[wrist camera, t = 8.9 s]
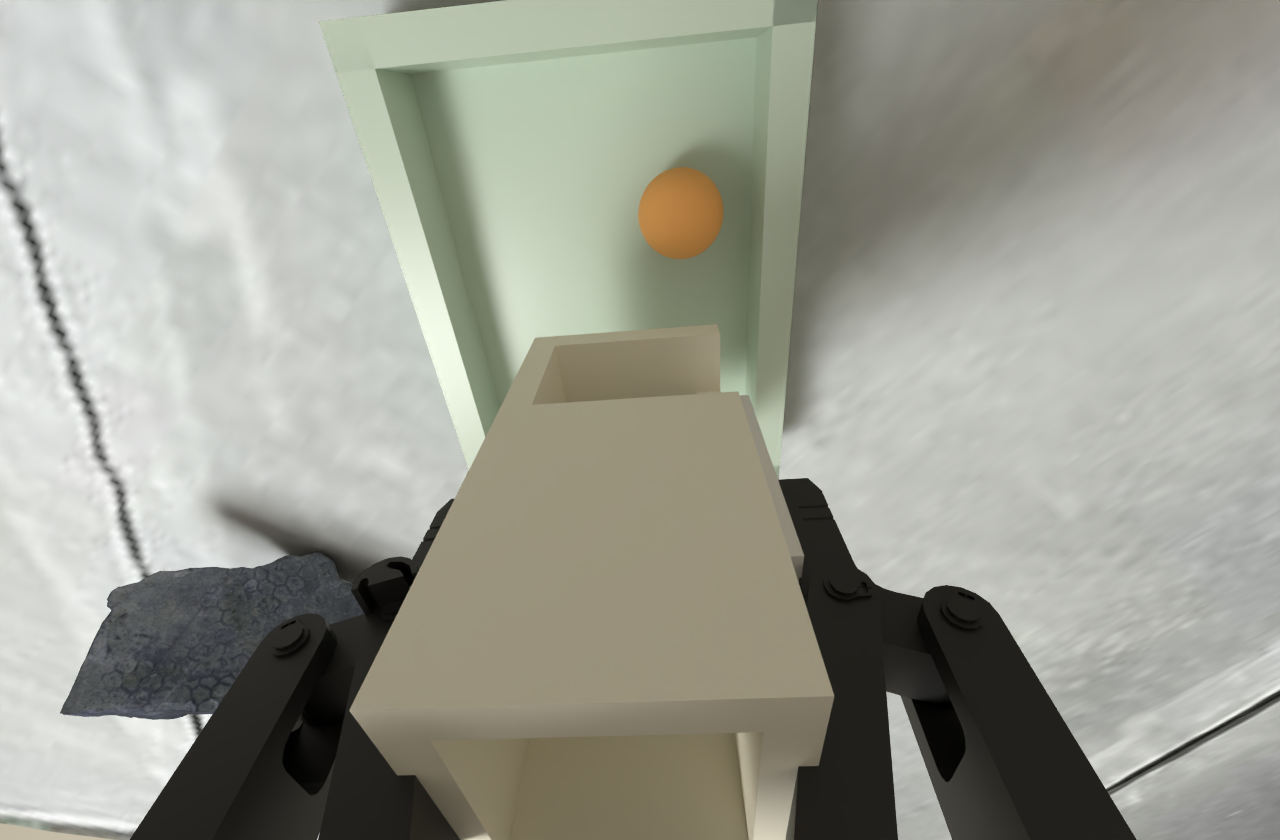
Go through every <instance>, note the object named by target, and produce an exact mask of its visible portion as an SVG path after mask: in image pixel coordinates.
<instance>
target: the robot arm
mask: <svg viewBox="0 0 1280 840" xmlns="http://www.w3.org/2000/svg"><path fill="white" fill-rule="evenodd" d="M740 398H741V401H742V405H743V408H744V411H745V414H746V417H747V420H748V424H749V427H750V430H751V433H752V436H753V439H754V443H755V446H756V449H757V452H758V455H759V459H760V462H761V465H762V468H763V471H764V474H765V478H766V481H767V484H768V487H769V490H770V493H771V497H772V500H773V503H774V506H775V509H776V513H777V516H778V519H779V522H780V525H781V528H782V532H783V535H784V538H785V541H786V544H787V547H788V551H789V554H790V557H791V560H792V563H793V566H794V570H795V573H796V576H797V579H798V582H799V586H800V589H801V592H802V595H803V598H804V601H805V605H806V608H807V611H808V614H809V617H810V620H811V624H812V627H813V630H814V633H815V636H816V640H817V643H818V646H819V649H820V652H821V655H822V659H823V662H824V665H825V668H826V671H827V674H828V678H829V681H830V684H831V687H832V690H833V693H834V700H833V704H832V709H831V713H830V717H829V722H828V726H827V731H826V735H825V740H824V744H823V748H822V753H821V757H820V762H819V766H798V771H797V777H796V782H795V788H794V794H793V799H792V805H791V810H790V816H789V822H788V827H787V833H786V840H898V834H897V822H896V809H895V797H894V784H893V772H892V759H891V747H890V734H889V722H888V709H887V697H886V691H887V692H891V693H894V694H898V695H901V698H902V701H903V704H904V706H905V709H906V712H907V715H908V717H909V720H910V723H911V726H912V729H913V731H914V734H915V737H916V740H917V743H918V745H919V748H920V751H921V754H922V756H923V759H924V762H925V765H926V768H927V770H928V773H929V776H930V779H931V782H932V784H933V787H934V790H935V793H936V795H937V798H938V801H939V804H940V807H941V809H942V812H943V815H944V818H945V821H946V823H947V826H948V829H949V832H950V834H951V837H952V840H1136V838H1135V836H1134V835H1133V833H1132V832H1131V830H1130V828H1129V827H1128V825H1127V823H1126V822H1125V820H1124V818H1123V817H1122V815H1121V813H1120V812H1119V810H1118V809H1117V807H1116V805H1115V804H1114V802H1113V800H1112V799H1111V797H1110V795H1109V794H1108V792H1107V791H1106V789H1105V787H1104V786H1103V784H1102V782H1101V781H1100V779H1099V777H1098V776H1097V774H1096V772H1095V771H1094V769H1093V768H1092V766H1091V764H1090V763H1089V761H1088V759H1087V758H1086V756H1085V754H1084V753H1083V751H1082V750H1081V748H1080V746H1079V745H1078V743H1077V741H1076V740H1075V738H1074V736H1073V735H1072V733H1071V731H1070V730H1069V728H1068V727H1067V725H1066V723H1065V722H1064V720H1063V718H1062V717H1061V715H1060V713H1059V712H1058V710H1057V709H1056V707H1055V705H1054V704H1053V702H1052V700H1051V699H1050V697H1049V695H1048V694H1047V692H1046V690H1045V689H1044V687H1043V686H1042V684H1041V682H1040V681H1039V679H1038V677H1037V676H1036V674H1035V672H1034V671H1033V669H1032V668H1031V666H1030V664H1029V663H1028V661H1027V659H1026V658H1025V656H1024V654H1023V653H1022V651H1021V649H1020V648H1019V646H1018V645H1017V643H1016V641H1015V640H1014V638H1013V636H1012V635H1011V633H1010V631H1009V630H1008V628H1007V627H1006V625H1005V623H1004V622H1003V620H1002V618H1001V617H1000V615H999V614H998V612H997V611H996V610H995V609H994V608H993V607H992V605H991V604H990V603H989V602H987V601H986V600H985V599H983V598H982V597H980V596H979V595H977V594H976V593H973V592H971V591H969V590H966V589H964V588H961V587H955V586H948V585H945V586H938V587H934V588H932V589H931V590H929V591H928V592H926V594H925V596H924V598H920V597H915V596H911V595H906V594H901V593H897V592H893V591H890V590H887V589H884V588H882V587H880V586H878V585H876V584H874V582H873V581H872V580H871V579H870V578H869V577H868V575H867V574H865V573H864V572H862V571H860V570H859V569H857V567H856V566H855V564H854V562H853V560H852V557H851V555H850V553H849V551H848V549H847V546H846V544H845V542H844V540H843V537H842V535H841V533H840V531H839V529H838V526H837V524H836V522H835V520H834V519H833V515H832V513H831V511H830V509H829V508H828V504H827V502H826V500H825V497H824V495H823V493H822V491H821V490H820V489H819V488H818V487H817V486H816V485H815V484H814V483H813V482H811V481H810V480H809V479H808V478H802V479H784V480H778V479H777V476H776V473H775V470H774V467H773V464H772V461H771V458H770V455H769V453H768V450H767V447H766V444H765V441H764V438H763V435H762V432H761V429H760V426H759V424H758V421H757V418H756V415H755V412H754V409H753V406H752V403H751V400H750V398H749V395H740ZM453 501H454V499H451V500H450V501H449V502H448V503H446V504H445V505H444V506H443V507H442V508H441V509H440V510H439V511H438V512H437V514H436V516H435V517H434V519H433V521H432V523H431V525H430V530H428V531H427V533H426V535H425V536H424V538H423V542H421V544H420V546H419V548H418V550H417V552H416V554H415V555H414V557H413V559H412V560H411V559H410V558H405V557H394V558H388V559H385V560H383V561H380V562H378V563H376V564H374V565H373V566H371V567H369V568H368V569H366V570H365V571H364V572H363V573H362V574H361V575H360V576H359V577H358V578H357V579H356V580H355V582H354V584H353V586H352V588H351V592H352V594H353V595H354V597H355V599H356V600H357V602H358V604H359V605H360V607H361V609H362V610H363V612H364V614H362V615H359V616H356V617H353V618H349V619H346V620H343V621H340V622H336V623H333V624H330V625H329V624H328V623H327V621H326V620H325V619H324V618H323V617H322V616H320V615H319V614H312V613H307V614H303V615H298V616H295V617H293V618H291V619H289V620H287V621H285V622H283V623H281V624H280V625H278V626H277V627H276V628H274V629H273V630H272V631H271V632H269V633H268V634H267V636H266V637H265V638H264V639H263V640H262V641H261V643H260V644H259V645H258V647H257V648H256V650H255V651H254V653H253V654H252V656H251V657H250V659H249V660H248V662H247V663H246V665H245V666H244V668H243V669H242V671H241V672H240V674H239V676H238V677H237V679H236V680H235V682H234V683H233V685H232V686H231V688H230V689H229V691H228V692H227V694H226V695H225V697H224V698H223V700H222V701H221V703H220V704H219V706H218V707H217V709H216V710H215V712H214V713H213V715H212V716H211V718H210V719H209V721H208V722H207V724H206V725H205V727H204V728H203V730H202V731H201V733H200V734H199V736H198V737H197V739H196V740H195V742H194V743H193V745H192V746H191V748H190V749H189V751H188V753H187V754H186V756H185V757H184V759H183V760H182V762H181V763H180V765H179V766H178V768H177V769H176V771H175V772H174V774H173V775H172V777H171V778H170V780H169V781H168V783H167V784H166V786H165V787H164V789H163V790H162V792H161V793H160V795H159V796H158V798H157V799H156V801H155V802H154V804H153V805H152V807H151V808H150V810H149V811H148V813H147V814H146V816H145V817H144V819H143V820H142V822H141V823H140V825H139V826H138V828H137V830H136V831H135V833H134V834H133V836H132V837H131V839H130V840H317V837H318V835H319V839H318V840H460V838H459V837H458V836H457V834H456V833H455V831H454V830H453V828H452V827H451V826H450V824H449V823H448V821H447V820H446V818H445V817H444V816H443V814H442V813H441V811H440V810H439V808H438V807H437V806H436V804H435V803H434V801H433V800H432V798H431V797H430V795H429V794H428V793H427V791H426V790H425V788H424V787H423V785H422V784H421V783H420V781H419V780H418V778H417V777H416V775H397V774H396V773H395V772H394V770H393V769H392V768H391V766H390V765H389V764H388V762H387V761H386V760H385V758H384V757H383V755H382V754H381V753H380V751H379V750H378V749H377V747H376V746H375V745H374V743H373V742H372V741H371V739H370V738H369V737H368V735H367V734H366V733H365V731H364V730H363V728H362V727H361V726H360V724H359V723H358V722H357V720H356V719H355V718H354V716H353V715H352V714H351V712H350V711H349V710H350V708H351V706H352V704H353V702H354V700H355V698H356V696H357V694H358V692H359V690H360V688H361V686H362V684H363V682H364V680H365V678H366V676H367V674H368V672H369V670H370V668H371V666H372V664H373V662H374V660H375V658H376V656H377V654H378V652H379V650H380V648H381V646H382V644H383V642H384V640H385V638H386V636H387V634H388V632H389V630H390V628H391V626H392V624H393V622H394V620H395V618H396V616H397V614H398V612H399V610H400V608H401V606H402V604H403V602H404V600H405V598H406V596H407V594H408V592H409V590H410V588H411V586H412V584H413V582H414V580H415V578H416V576H417V574H418V571H419V569H420V567H421V565H422V563H423V561H424V559H425V557H426V555H427V553H428V551H429V549H430V547H431V545H432V543H433V541H434V539H435V537H436V535H437V533H438V531H439V529H440V527H441V525H442V523H443V521H444V519H445V517H446V515H447V513H448V511H449V509H450V507H451V505H452V503H453ZM319 833H320V834H319Z"/></svg>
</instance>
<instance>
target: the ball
mask: <svg viewBox="0 0 1280 840" xmlns="http://www.w3.org/2000/svg"><path fill="white" fill-rule="evenodd" d="M638 218H639V225H640V229H641V232H642V234H643V236H644V238H645V240H646V241H647V243H648V244H649V245H650V246H651V247H652V248H653V249H654V250H655V251H656V252H658V253H659V254H661V255H663V256H666V257H668V258H672V259H686V258H691V257H694V256H696V255H699V254H700V253H702V252H703V251H705V250H706V249H707V248H708V247H709V246H710V245H711V244H712V243H713V242H714V240H715V239H716V237H717V235H718V234H719V231H720V229H721V226H722V221H723V202H722V198H721V195H720V193H719V190H718V188H717V187H716V185H715V184H714V183H713V181H712V180H711V179H710V178H709V177H708V176H706V175H705V174H704V173H702V172H700V171H698V170H695V169H692V168H687V167H678V168H673V169H669V170H667V171H664V172H662V173H661V174H659V175H658V176H656V177H655V178H654V179H653V180H652V181H651V182H650V183H649V185H648V186H647V187H646V189H645V191H644V193H643V195H642V197H641V200H640V204H639V211H638Z"/></svg>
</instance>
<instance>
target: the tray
mask: <svg viewBox="0 0 1280 840" xmlns="http://www.w3.org/2000/svg"><path fill="white" fill-rule="evenodd" d="M817 4H818V0H504V1H495V2H486V3H478V4H469V5H460V6H451V7H442V8H434V9H425V10H416V11H407V12H399V13H390V14H381V15H372V16H363V17H355V18H346V19H337V20H328V21H320V22H319V24H320V27H321V30H322V33H323V36H324V39H325V42H326V45H327V48H328V51H329V54H330V57H331V60H332V63H333V66H334V69H335V72H336V75H337V78H338V81H339V84H340V87H341V90H342V93H343V96H344V99H345V102H346V105H347V108H348V111H349V114H350V117H351V120H352V123H353V126H354V129H355V132H356V135H357V138H358V141H359V144H360V147H361V150H362V153H363V156H364V159H365V162H366V165H367V168H368V171H369V174H370V177H371V180H372V183H373V186H374V188H375V191H376V194H377V197H378V200H379V203H380V206H381V209H382V212H383V215H384V218H385V221H386V224H387V227H388V230H389V233H390V236H391V239H392V242H393V245H394V248H395V251H396V254H397V257H398V260H399V263H400V266H401V269H402V272H403V275H404V278H405V281H406V284H407V287H408V290H409V293H410V296H411V299H412V302H413V305H414V308H415V311H416V314H417V317H418V320H419V323H420V326H421V329H422V332H423V335H424V338H425V341H426V344H427V347H428V350H429V352H430V355H431V358H432V361H433V364H434V367H435V370H436V373H437V376H438V379H439V382H440V385H441V388H442V391H443V394H444V397H445V400H446V403H447V406H448V409H449V412H450V415H451V418H452V421H453V424H454V427H455V430H456V433H457V436H458V439H459V442H460V445H461V448H462V451H463V454H464V457H465V460H466V463H467V466H468V469H470V467H471V465H472V463H473V461H474V459H475V457H476V455H477V453H478V451H479V449H480V447H481V445H482V443H483V441H484V439H485V437H486V435H487V433H488V431H489V429H490V427H491V425H492V423H493V421H494V419H495V417H496V415H497V413H498V411H499V409H500V407H501V405H502V403H503V401H504V399H505V397H506V395H507V393H508V391H509V389H510V387H511V385H512V383H513V381H514V379H515V377H516V375H517V373H518V371H519V369H520V367H521V365H522V363H523V361H524V359H525V357H526V355H527V353H528V351H529V349H530V347H531V345H532V343H533V341H534V339H535V338H538V337H551V336H565V335H578V334H592V333H605V332H619V331H633V330H646V329H660V328H673V327H687V326H701V325H714V324H717V325H718V328H719V332H720V392H737V391H738V392H739V395H749V398H750V400H751V403H752V406H753V409H754V412H755V415H756V418H757V421H758V424H759V426H760V429H761V432H762V435H763V438H764V441H765V444H766V447H767V450H768V453H769V455H770V458H771V461H772V464H773V467H774V470H775V473H776V476H777V479H778V480H779V469H780V457H781V444H782V432H783V420H784V408H785V395H786V383H787V371H788V359H789V347H790V334H791V322H792V310H793V298H794V285H795V273H796V261H797V249H798V236H799V224H800V212H801V200H802V187H803V175H804V163H805V151H806V138H807V126H808V114H809V102H810V89H811V77H812V65H813V53H814V40H815V28H816V16H817ZM678 167H687V168H692V169H695V170H698V171H700V172H702V173H704V174H705V175H706V176H708V177H709V178H710V179H711V180H712V181H713V183H714V184H715V185H716V187H717V188H718V190H719V193H720V195H721V198H722V202H723V221H722V226H721V229H720V231H719V234H718V235H717V237H716V239H715V240H714V242H713V243H712V244H711V245H710V246H709V247H708V248H707V249H706V250H705V251H703V252H702V253H700V254H699V255H696V256H694V257H691V258H686V259H672V258H668V257H666V256H663V255H661V254H659V253H658V252H656V251H655V250H654V249H653V248H652V247H651V246H650V245H649V244H648V243H647V241H646V240H645V238H644V236H643V234H642V232H641V229H640V225H639V218H638V211H639V204H640V200H641V197H642V195H643V193H644V191H645V189H646V187H647V186H648V185H649V183H650V182H651V181H652V180H653V179H654V178H655V177H656V176H658V175H659V174H661V173H662V172H664V171H667V170H669V169H673V168H678Z"/></svg>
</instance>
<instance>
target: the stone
mask: <svg viewBox="0 0 1280 840" xmlns="http://www.w3.org/2000/svg"><path fill="white" fill-rule="evenodd" d="M352 586H353V585H352V584H349V583H346V582H343V581H341V579H340V577H339V575H338V573H337V570H336V565H335V564H334V562H333V561H332V559H331V558H329V557H327V556H325V555H323V554H322V553H320V552H315V553H309V554H306V555H303V556H295V555H290V556H284V557H282V558H280V559H278V560H276V561H274V562H272V563H270V564H267V565H263V566H258V567H255V568H253V569H252V568H245V567H240V568H232V569H229V568H219V567H206V568H189V569H185V570H179V571H159V572H157V573H154V574H152V575H150V576H149V577H147V578H145V579H143V580H142V581H140V582H138V583H133V584H129V585H126V586H122V587H118V588H116V589H114V590H113V591H112V592H111V593H110V595H109V597H108V599H107V600H108V603H107V607H109V608H110V609H111V612H110V614H109V615H108V616H107V618H106V619H105V620H104V621H103V623H102V625H101V627H100V629H99V631H98V633H97V634H96V636H95V638H94V641H93V643H92V645H91V647H90V649H89V652H88V654H87V656H86V659H85V661H84V663H83V664H82V666H81V669H80V671H79V673H78V676H77V678H76V680H75V683H74V685H73V687H72V689H71V691H70V694H69V696H68V698H67V699H66V701H65V703H64V705H63V707H62V710H61V712H60V713H62V714H63V715H74V716H84V717H89V716H96V717H98V716H103V715H118V716H126V717H130V718H132V717H137V718H146V719H153V720H155V719H175V718H179V717H183V716H185V715H187V714H213V713H214V712H215V710H216V709H217V707H218V706H219V704H220V703H221V701H222V700H223V698H224V697H225V695H226V694H227V692H228V691H229V689H230V688H231V686H232V685H233V683H234V682H235V680H236V679H237V677H238V676H239V674H240V672H241V671H242V669H243V668H244V666H245V665H246V663H247V662H248V660H249V659H250V657H251V656H252V654H253V653H254V651H255V650H256V648H257V647H258V645H259V644H260V643H261V641H262V640H263V639H264V638H265V637H266V636H267V634H268V633H269V632H271V631H272V630H273V629H274V628H276V627H277V626H278V625H280V624H281V623H283V622H285V621H287V620H289V619H291V618H293V617H295V616H298V615H303V614H307V613H312V614H319V615H320V616H322V617H323V618H324V619H325V620H326V621H327V623H328V624H329V625H330V624H333V623H336V622H340V621H343V620H346V619H349V618H353V617H356V616H359V615H362V614H364V612H363V610H362V609H361V607H360V605H359V604H358V602H357V600H356V599H355V597H354V595H353V594H352V592H351V588H352Z"/></svg>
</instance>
